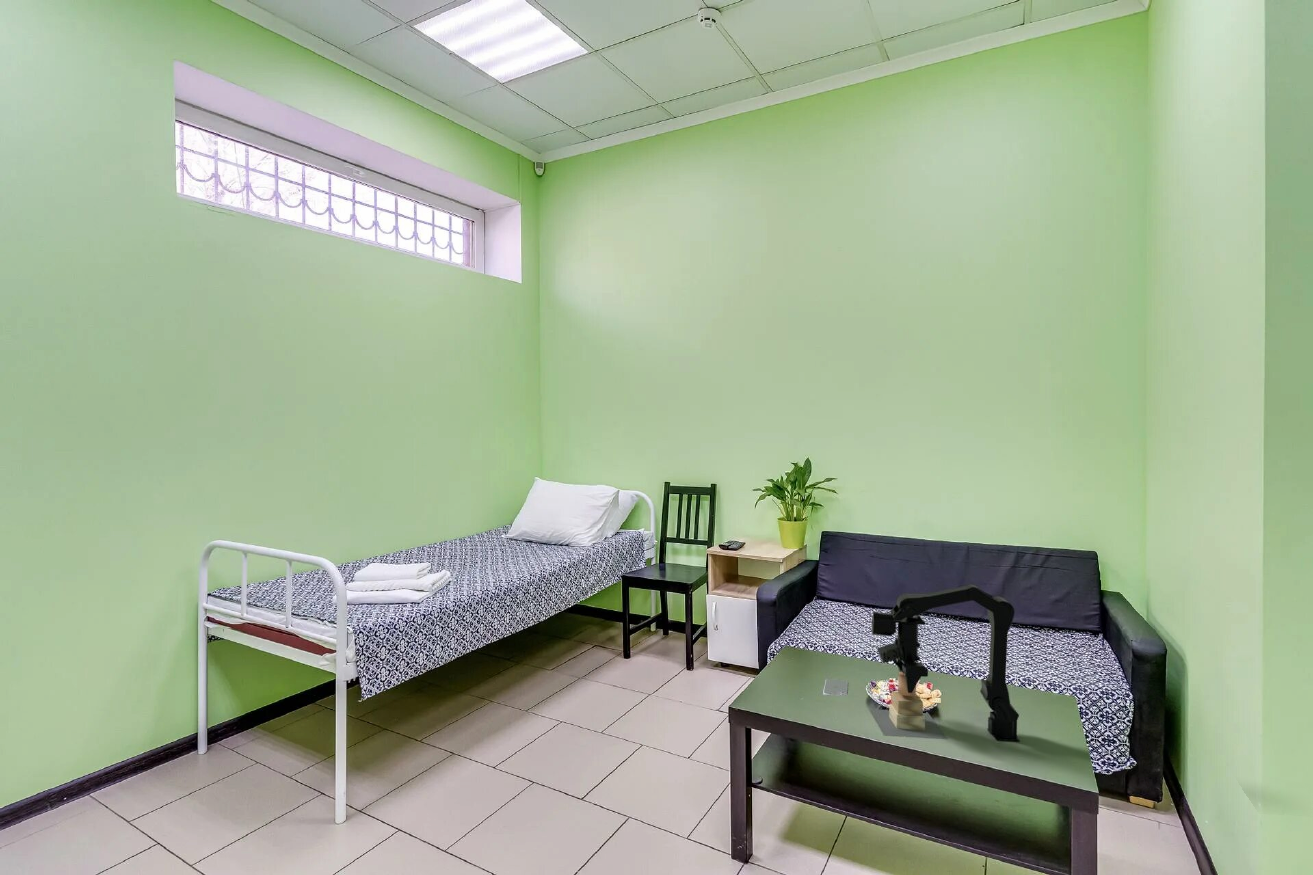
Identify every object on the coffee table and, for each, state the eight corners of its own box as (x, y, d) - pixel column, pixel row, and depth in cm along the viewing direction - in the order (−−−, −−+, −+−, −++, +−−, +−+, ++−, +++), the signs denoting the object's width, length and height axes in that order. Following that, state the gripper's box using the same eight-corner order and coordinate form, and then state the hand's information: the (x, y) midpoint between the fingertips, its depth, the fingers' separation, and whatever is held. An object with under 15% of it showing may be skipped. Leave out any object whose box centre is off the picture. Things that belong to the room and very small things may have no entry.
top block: (915, 705, 191) (915, 692, 191) (922, 715, 184) (922, 701, 184) (891, 704, 192) (891, 691, 192) (898, 714, 185) (898, 700, 185)
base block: (916, 718, 192) (916, 705, 192) (924, 729, 184) (925, 716, 184) (889, 716, 192) (889, 703, 192) (896, 728, 184) (896, 714, 184)
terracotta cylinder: (913, 689, 190) (913, 671, 190) (918, 696, 185) (918, 677, 185) (896, 688, 191) (896, 670, 191) (900, 695, 186) (901, 676, 186)
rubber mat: (927, 713, 196) (927, 712, 196) (948, 740, 178) (948, 738, 178) (868, 710, 198) (868, 708, 198) (883, 736, 180) (883, 735, 180)
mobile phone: (848, 680, 221) (846, 696, 207) (848, 682, 221) (846, 699, 207) (825, 677, 224) (822, 692, 210) (825, 679, 224) (822, 695, 210)
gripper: (872, 627, 198) (871, 676, 198) (888, 646, 180) (888, 700, 179) (908, 628, 197) (908, 678, 197) (928, 647, 179) (928, 702, 178)
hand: (907, 689), depth 188 cm, fingers closed on terracotta cylinder, 5 cm apart
